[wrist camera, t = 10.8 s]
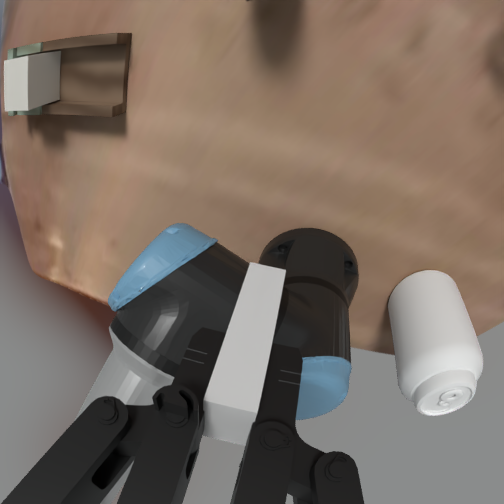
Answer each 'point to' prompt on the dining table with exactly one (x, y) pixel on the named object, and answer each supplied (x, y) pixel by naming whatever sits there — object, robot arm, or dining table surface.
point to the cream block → (31, 81)
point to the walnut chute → (86, 74)
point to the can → (434, 343)
